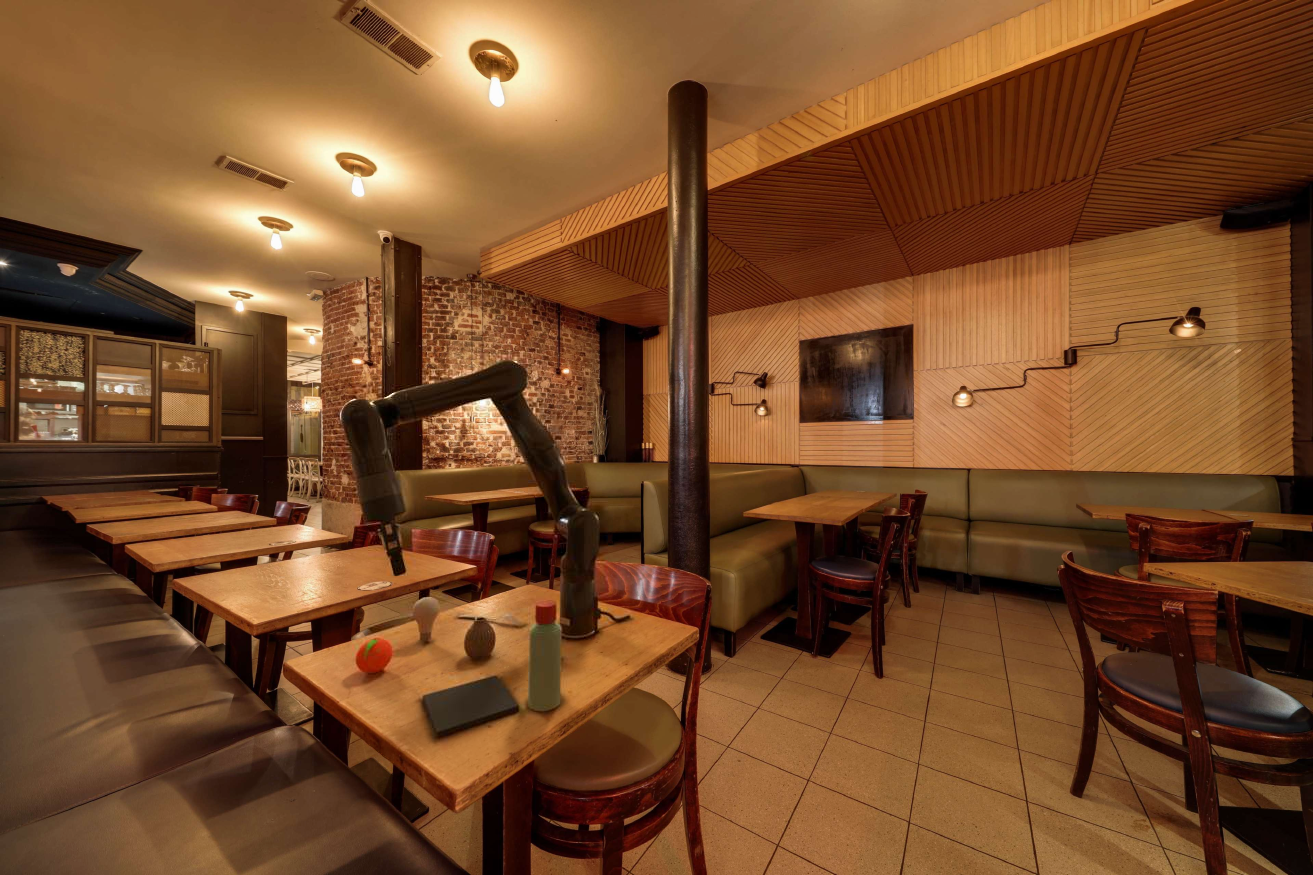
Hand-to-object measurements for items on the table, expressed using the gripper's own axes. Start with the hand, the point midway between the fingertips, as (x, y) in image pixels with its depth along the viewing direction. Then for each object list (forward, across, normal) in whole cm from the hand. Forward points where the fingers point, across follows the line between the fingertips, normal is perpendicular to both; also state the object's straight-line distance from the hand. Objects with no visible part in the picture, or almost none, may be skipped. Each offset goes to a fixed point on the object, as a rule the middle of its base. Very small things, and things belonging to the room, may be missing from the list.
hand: (400, 571), depth 94 cm
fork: (+25, +29, -18) cm, 43 cm away
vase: (+26, +8, -11) cm, 29 cm away
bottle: (+30, -18, -18) cm, 40 cm away
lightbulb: (+22, +23, -1) cm, 32 cm away
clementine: (+21, +11, +10) cm, 25 cm away
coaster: (+27, -13, -6) cm, 30 cm away
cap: (+15, -20, -22) cm, 33 cm away
